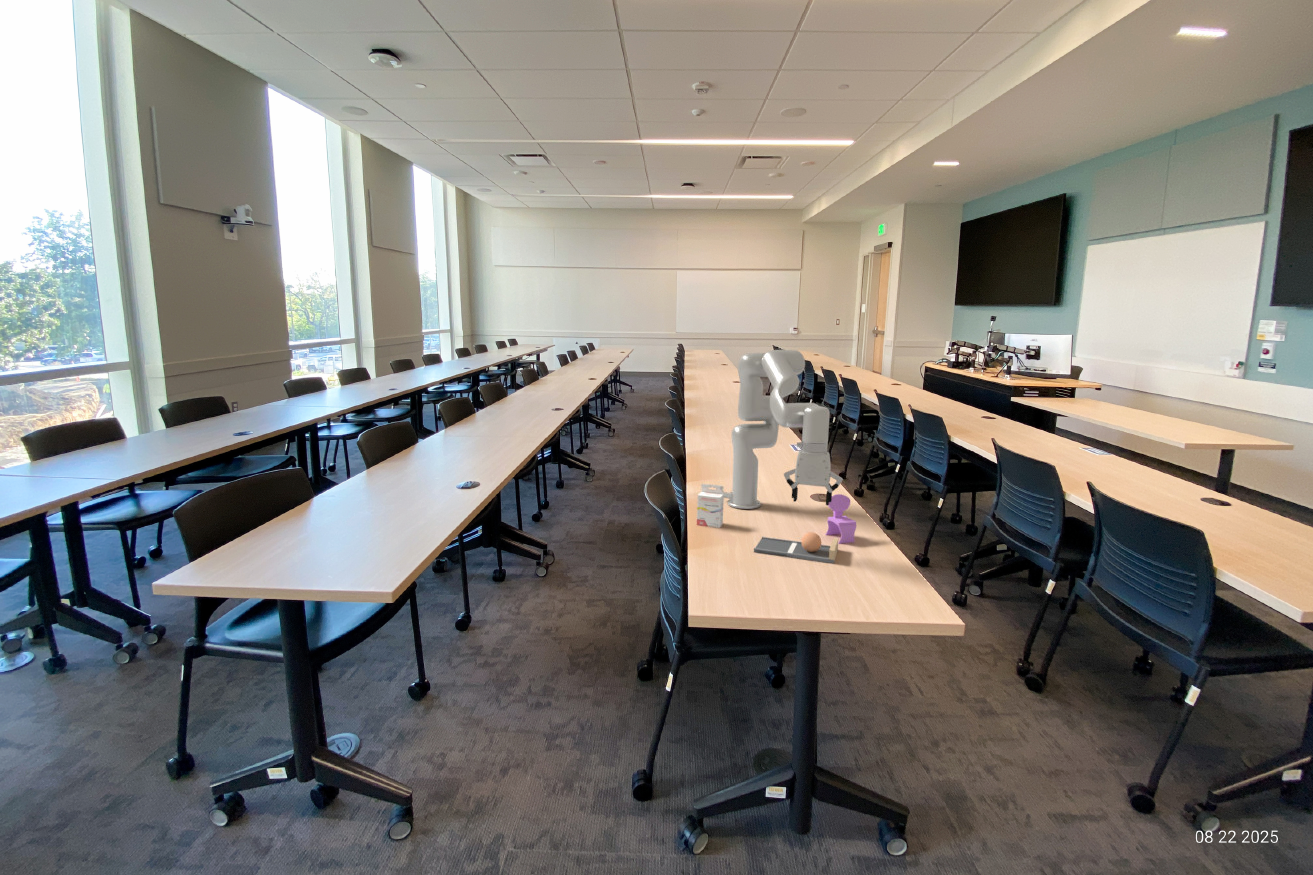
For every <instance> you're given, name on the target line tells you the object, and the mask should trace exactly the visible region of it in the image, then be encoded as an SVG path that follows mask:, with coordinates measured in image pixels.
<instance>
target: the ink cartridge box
mask: <svg viewBox="0 0 1313 875" xmlns="http://www.w3.org/2000/svg"><path fill="white" fill-rule="evenodd" d="M700 486H701V489H700V490H701V491H700V492H698V494H697V502H696V503H697V507H696V526H703V527H710V528H718V529H719V528H721V527H722V526H723V523H724V500H725V498H724V494H723V492H724V485H721V484H720V485H719V484H718V485H717V484H711V483H710V484H709V483H701V485H700ZM711 488H713V489H711Z"/></svg>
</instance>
